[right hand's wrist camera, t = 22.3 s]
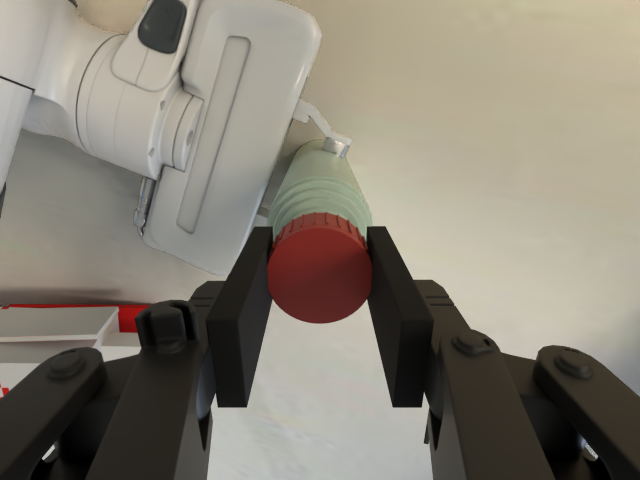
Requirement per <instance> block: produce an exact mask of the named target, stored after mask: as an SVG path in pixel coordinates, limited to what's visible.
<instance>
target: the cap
mask: <svg viewBox="0 0 640 480" xmlns="http://www.w3.org/2000/svg"><path fill="white" fill-rule="evenodd" d="M368 250H369V249H368V246H367V243H366V240H365V237H364V236H362V235H361V233H360V232H359V229H358V227H355V226H354V225H353V224H351V223H350V221H349V220H346V219H344V218H342V217H340V216H339V215H338V214H337V215H334V214H330V213H328V212H325V213H316V212H313V213H310V214H306V215H304V214H302V216H300V217H298V218H296V219H294V220H293V219H292V220H291V222H289V223H288V224H287V225H286V226H283V227H282V230H281V231H280V233H279V234H278V235H276V237H275V240H274V243H273V246H272V249H271V252H270V255H269V261H268V264H267V272H268V288H269V293H270V295H271V297H272V298H273V300H274V301H275V303H276V304H277V305H278V306H279V307H280V308H281V309H282V310H283V311H284V312H285V313H287V314H288V315H290V316H292V317H294V318H296V319H298V320H301V321H305V322H309V323H321V324H322V323H331V322H335V321H338V320H341V319H344V318H346V317H348V316H349V315H351V314H353V313H354V312H355V311H357V310H358V309H359V308H360V307H361V306H362V305H363V303H364V302H365V301H366V299H367V298H368V296H369V294H370V292H371V281H372V262H371V258H370V255H369V252H368Z"/></svg>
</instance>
